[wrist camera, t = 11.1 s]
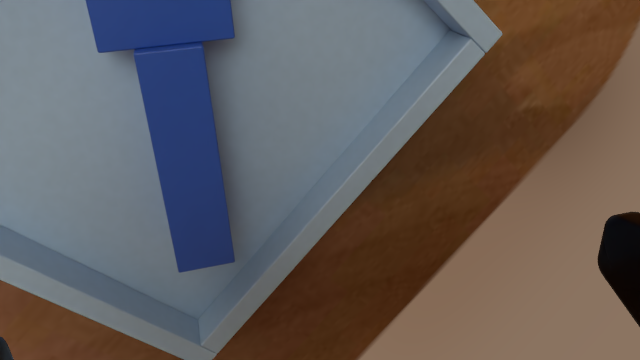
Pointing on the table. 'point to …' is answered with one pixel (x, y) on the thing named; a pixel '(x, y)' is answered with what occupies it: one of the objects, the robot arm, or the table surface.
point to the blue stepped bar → (177, 112)
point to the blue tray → (233, 142)
